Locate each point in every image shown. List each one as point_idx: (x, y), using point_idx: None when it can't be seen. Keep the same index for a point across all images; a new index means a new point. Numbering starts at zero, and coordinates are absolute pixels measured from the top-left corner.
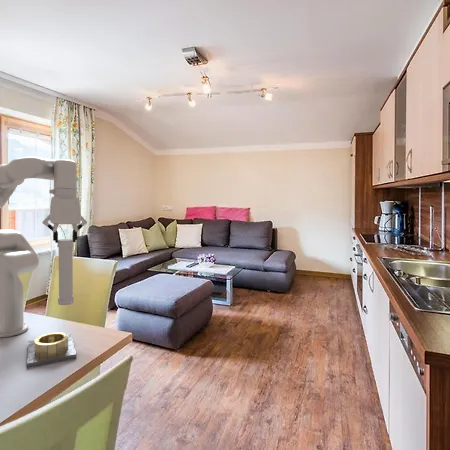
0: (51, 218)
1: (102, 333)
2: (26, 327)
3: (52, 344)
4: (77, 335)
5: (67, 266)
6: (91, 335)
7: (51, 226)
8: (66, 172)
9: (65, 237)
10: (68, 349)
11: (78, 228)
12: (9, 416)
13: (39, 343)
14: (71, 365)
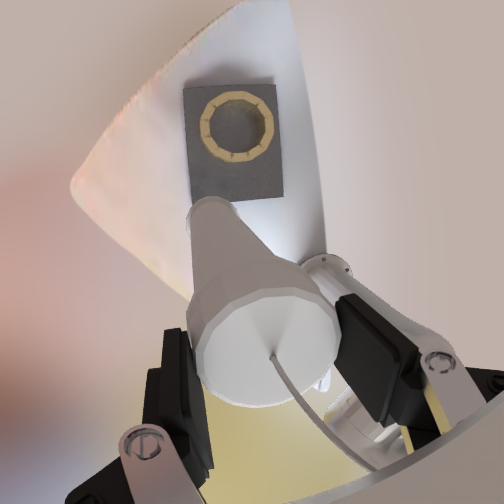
0: None
1: (122, 211)
2: None
3: (234, 91)
4: (179, 216)
5: (218, 227)
6: (147, 206)
7: (488, 390)
8: None
9: (280, 372)
10: (198, 117)
11: (121, 476)
12: None
13: (262, 106)
14: (193, 66)
